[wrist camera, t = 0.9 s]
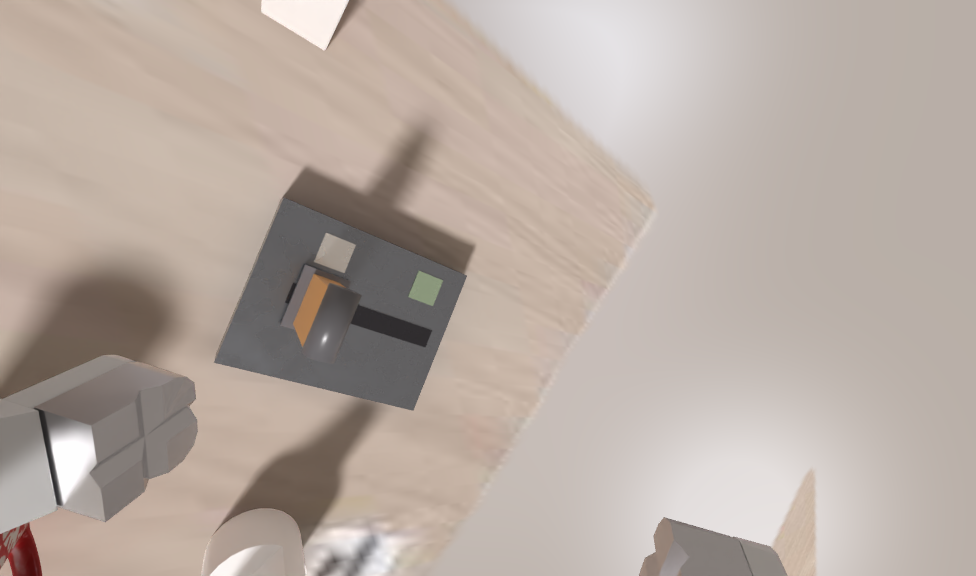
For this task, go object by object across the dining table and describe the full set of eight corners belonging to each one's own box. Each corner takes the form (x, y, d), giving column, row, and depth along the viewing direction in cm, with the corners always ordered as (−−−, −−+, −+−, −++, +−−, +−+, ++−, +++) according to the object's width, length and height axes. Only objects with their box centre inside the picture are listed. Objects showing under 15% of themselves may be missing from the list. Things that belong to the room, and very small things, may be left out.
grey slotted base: (216, 353, 43) (214, 363, 41) (281, 198, 44) (283, 197, 41) (405, 400, 53) (413, 411, 50) (456, 272, 54) (467, 275, 51)
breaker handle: (279, 324, 42) (289, 356, 33) (304, 264, 43) (321, 278, 33) (326, 338, 45) (347, 371, 35) (349, 280, 45) (377, 299, 35)
